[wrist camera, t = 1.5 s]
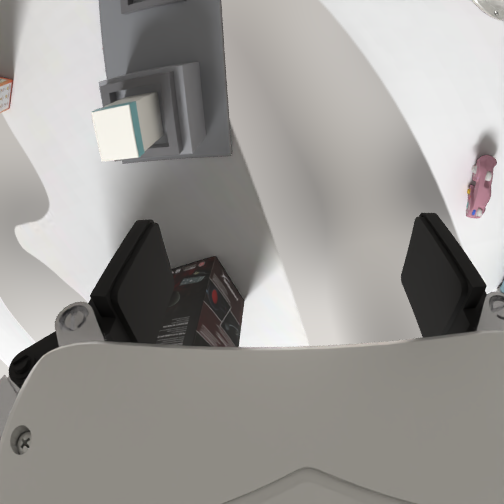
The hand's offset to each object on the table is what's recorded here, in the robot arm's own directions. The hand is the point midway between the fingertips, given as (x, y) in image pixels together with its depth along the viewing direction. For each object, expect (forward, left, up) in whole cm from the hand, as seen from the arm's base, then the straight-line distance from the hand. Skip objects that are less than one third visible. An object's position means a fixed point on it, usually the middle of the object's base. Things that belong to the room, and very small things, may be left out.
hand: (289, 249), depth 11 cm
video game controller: (+9, +31, -31) cm, 44 cm away
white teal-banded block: (-1, -15, -23) cm, 27 cm away
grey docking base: (-10, -15, -31) cm, 35 cm away
